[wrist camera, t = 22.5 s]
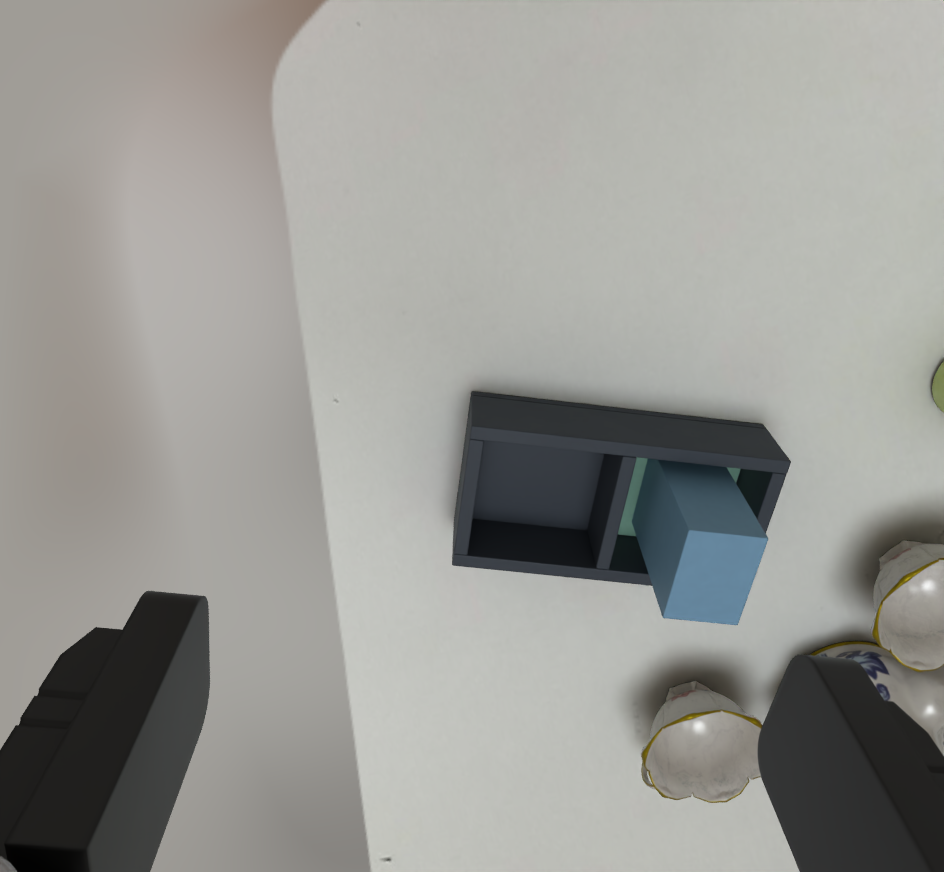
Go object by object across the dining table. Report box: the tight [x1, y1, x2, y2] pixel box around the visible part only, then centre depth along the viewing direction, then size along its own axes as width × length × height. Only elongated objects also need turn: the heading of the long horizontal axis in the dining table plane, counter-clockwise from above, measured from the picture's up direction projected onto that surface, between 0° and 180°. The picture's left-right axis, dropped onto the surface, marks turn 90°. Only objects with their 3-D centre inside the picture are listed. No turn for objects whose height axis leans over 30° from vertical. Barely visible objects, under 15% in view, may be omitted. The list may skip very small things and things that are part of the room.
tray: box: [452, 391, 791, 586], centre depth 46 cm, size 9×17×5 cm, turn 83°
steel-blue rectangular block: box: [632, 459, 768, 625], centre depth 43 cm, size 4×6×9 cm
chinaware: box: [641, 540, 944, 869], centre depth 48 cm, size 28×17×17 cm, turn 139°
